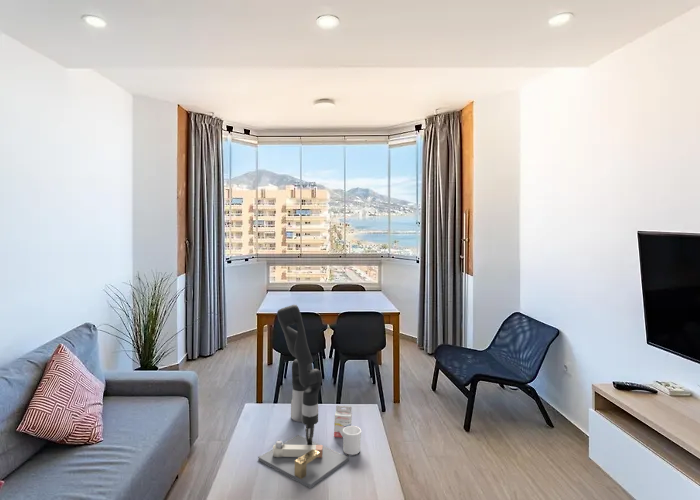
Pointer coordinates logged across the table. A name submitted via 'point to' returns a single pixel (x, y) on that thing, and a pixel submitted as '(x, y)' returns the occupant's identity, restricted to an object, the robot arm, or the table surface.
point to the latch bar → (294, 450)
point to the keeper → (304, 462)
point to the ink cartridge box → (342, 420)
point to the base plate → (314, 469)
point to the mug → (351, 440)
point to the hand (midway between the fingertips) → (309, 447)
